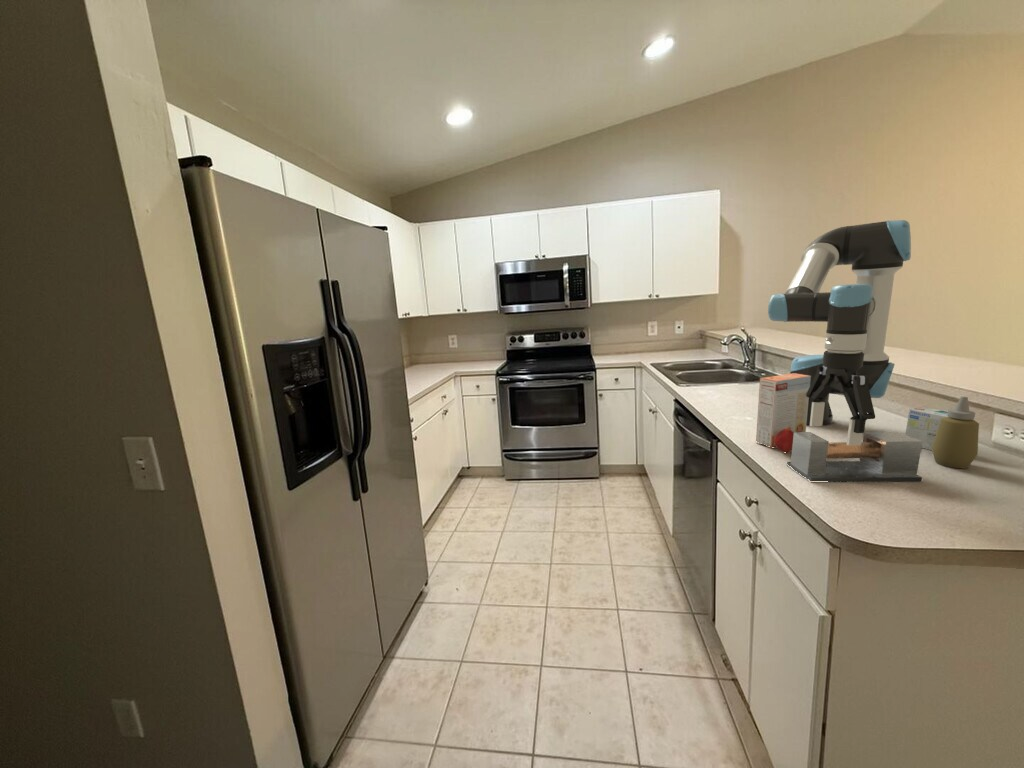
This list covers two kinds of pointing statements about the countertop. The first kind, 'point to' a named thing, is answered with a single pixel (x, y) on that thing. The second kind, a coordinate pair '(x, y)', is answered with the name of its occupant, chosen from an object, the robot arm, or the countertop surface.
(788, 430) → the red round fruit
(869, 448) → the copper tube
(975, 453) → the squeeze bottle
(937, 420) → the light bulb box
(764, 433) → the cracker box
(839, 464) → the jig
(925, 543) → the countertop surface
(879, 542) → the countertop surface
